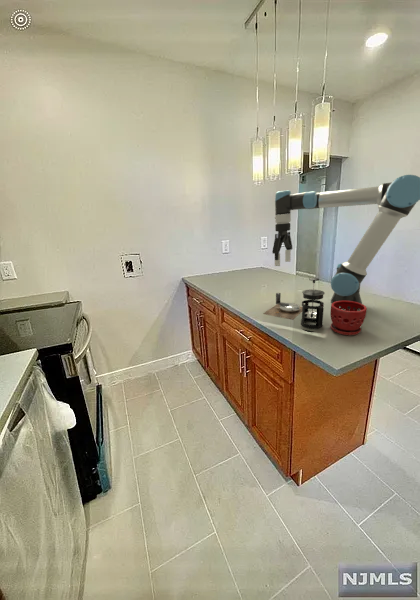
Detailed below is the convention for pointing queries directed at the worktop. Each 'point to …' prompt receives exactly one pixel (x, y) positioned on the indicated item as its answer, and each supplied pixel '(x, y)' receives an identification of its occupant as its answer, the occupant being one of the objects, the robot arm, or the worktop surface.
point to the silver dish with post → (287, 305)
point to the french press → (310, 315)
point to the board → (278, 313)
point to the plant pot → (347, 317)
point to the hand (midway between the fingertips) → (282, 263)
